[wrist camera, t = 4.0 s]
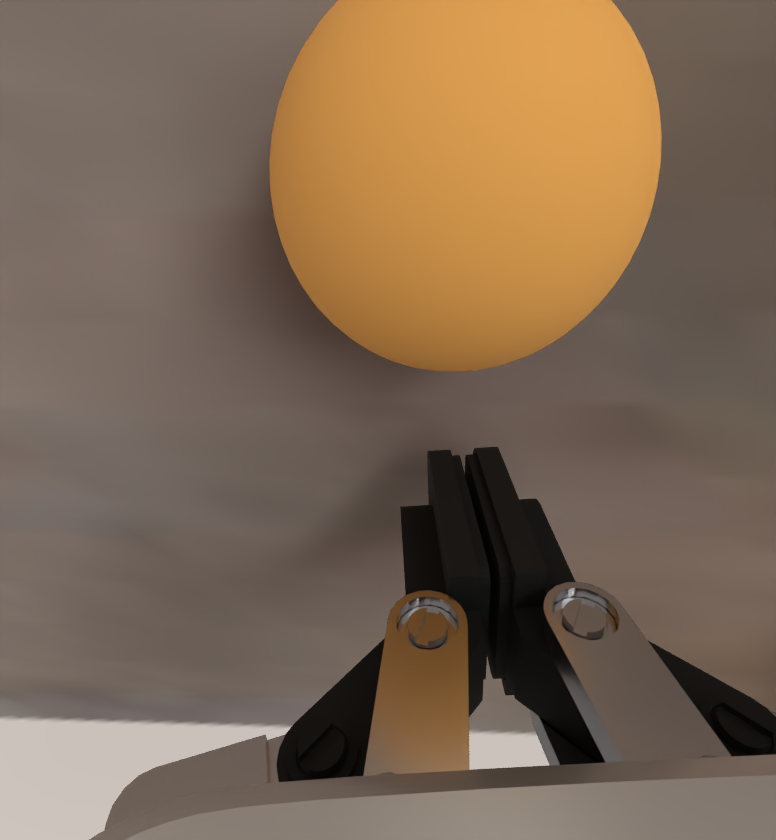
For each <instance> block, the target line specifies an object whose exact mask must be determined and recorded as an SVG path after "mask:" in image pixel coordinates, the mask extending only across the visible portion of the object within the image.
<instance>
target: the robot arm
mask: <svg viewBox="0 0 776 840" xmlns="http://www.w3.org/2000/svg"><path fill="white" fill-rule="evenodd" d="M427 459H428V494H429V505H422V506H406V507H401V524H402V540H403V556H404V572H405V589H406V596H404V597H403V598H401V599H400V600H399V601H398V602H397V603H396V604H395V605H394V607H393V608H392V609H391V612H390V615H389V617H388V622H387V628H386V635H385V639H384V640H382V641H381V642H380V643H379V644H378V645H377V646H376V647H375V648H374V649H373V650H372V651H371V652H370V653H369V654H368V655H367V656H365V657H364V658H363V659H362V660H361V661H360V662H359V663H358V664H357V665H356V666H355V667H354V668H353V669H352V670H351V671H350V672H348V673H347V674H346V675H345V676H344V677H343V678H342V679H341V680H340V681H339V682H338V683H337V684H336V685H335V686H334V687H333V688H332V689H330V690H329V691H328V692H327V693H326V694H325V695H324V696H323V697H322V698H321V699H320V700H319V701H318V702H317V703H316V704H315V705H313V706H312V707H311V708H310V709H309V710H308V711H307V712H306V713H305V714H304V715H303V716H302V717H301V718H300V719H299V720H298V721H296V722H295V724H294V725H293V726H292V727H291V728H290V730H289V731H288V732H287V734H286V735H283V736H280V737H276V738H273V739H270V740H267V738H266V735H263V736H259V737H256V738H252V739H249V740H246V741H243V742H239V743H236V744H232V745H230V746H226V747H222V748H219V749H216V750H212V751H209V752H206V753H203V754H199V755H196V756H192V757H189V758H186V759H182V760H179V761H176V762H172V763H169V764H166V765H162V766H159V767H156V768H153V769H151V770H149V771H147V772H145V773H143V774H141V775H139V776H138V777H137V778H136V779H134V780H133V781H132V782H131V783H130V784H129V785H128V786H127V787H125V789H124V790H123V791H122V793H121V794H120V796H119V797H118V798H117V800H116V801H115V803H114V804H113V806H112V809H111V811H110V814H109V817H108V820H107V822H106V826H105V830H104V831H103V832H101V833H99V834H97V835H96V836H94V837H93V838H91V839H90V840H776V713H775V712H770V711H769V710H768V709H767V708H766V707H764V706H763V705H761V704H760V703H758V702H757V701H755V700H754V699H752V698H751V697H749V696H747V695H745V694H743V693H742V692H740V691H738V690H736V689H734V688H733V687H731V686H729V685H727V684H725V683H723V682H722V681H720V680H718V679H716V678H714V677H713V676H711V675H709V674H707V673H705V672H704V671H702V670H700V669H698V668H696V667H695V666H693V665H691V664H689V663H687V662H685V661H684V660H682V659H680V658H678V657H676V656H675V655H673V654H671V653H669V652H667V651H666V650H664V649H662V648H660V647H658V646H657V645H655V644H653V643H651V642H649V641H648V640H647V639H646V638H645V636H644V635H643V633H642V632H641V631H640V629H639V628H638V627H637V625H636V624H635V622H634V621H633V620H632V618H631V617H630V616H629V614H628V613H627V611H626V610H625V609H624V607H623V606H622V605H621V604H620V603H619V602H618V600H617V599H616V598H615V597H614V596H612V595H611V594H609V593H608V592H606V591H605V590H603V589H601V588H599V587H596V586H594V585H591V584H587V583H581V582H575V580H574V578H573V576H572V573H571V571H570V569H569V567H568V565H567V562H566V560H565V558H564V556H563V553H562V551H561V549H560V547H559V545H558V542H557V540H556V538H555V536H554V534H553V531H552V529H551V527H550V525H549V523H548V520H547V518H546V516H545V514H544V512H543V509H542V507H541V505H540V503H539V502H538V500H537V499H522V500H519V499H518V496H517V493H516V491H515V488H514V486H513V483H512V481H511V478H510V476H509V473H508V471H507V468H506V466H505V463H504V461H503V458H502V456H501V453H500V451H499V449H498V447H487V448H474V451H473V454H470V455H466V457H465V474H464V470H463V466H462V462H461V458H460V456H459V455H454V456H452V454H451V451H450V450H439V451H428V454H427ZM487 656H488V661H489V666H490V670H491V674H492V677H493V679H498V678H502V683H503V687H504V691H505V695H514V696H515V699H517V700H518V701H519V702H521V703H522V704H523V705H525V706H526V707H527V708H529V709H530V716H531V720H532V724H533V726H534V729H535V731H536V733H537V736H538V738H539V740H540V743H541V745H542V748H543V750H544V752H545V755H546V757H547V760H548V762H549V764H550V766H533V767H515V768H496V769H477V770H469V716H470V715H471V714H472V713H473V711H474V710H475V709H476V708H477V706H478V705H479V704H480V702H481V701H482V696H483V679H485V678H486V662H487Z"/></svg>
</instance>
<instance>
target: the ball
mask: <svg viewBox="0 0 776 840" xmlns="http://www.w3.org/2000/svg"><path fill="white" fill-rule="evenodd" d="M661 139H662V133H661V121H660V109H659V103H658V98H657V94H656V89H655V84H654V79H653V77H652V74H651V71H650V68H649V65H648V62H647V59H646V56H645V53H644V51H643V49H642V47H641V45H640V43H639V42H638V40H637V38H636V36H635V34H634V32H633V30H632V28H631V26H630V25H629V24H628V22H627V21H626V19H625V18H624V16H623V15H622V14H621V12H620V11H619V9H618V8H617V6H616V5H615V4H614V3H613V2H612V1H611V0H338V1H337V2H336V3H335V4H334V5H333V6H332V8H331V9H330V10H329V11H328V12H327V13H326V14H325V15H324V16H323V18H322V19H321V20H320V22H319V23H318V25H317V26H316V28H315V29H314V31H313V32H312V34H311V35H310V37H309V38H308V40H307V41H306V42H305V44H304V45H303V47H302V49H301V51H300V53H299V55H298V57H297V59H296V61H295V63H294V65H293V67H292V69H291V71H290V73H289V75H288V78H287V80H286V83H285V86H284V89H283V92H282V95H281V97H280V100H279V103H278V108H277V112H276V117H275V121H274V126H273V131H272V139H271V150H270V161H269V164H270V192H271V199H272V205H273V212H274V218H275V222H276V225H277V229H278V233H279V236H280V240H281V243H282V246H283V248H284V251H285V253H286V256H287V258H288V260H289V263H290V265H291V267H292V269H293V271H294V273H295V275H296V276H297V278H298V280H299V282H300V284H301V285H302V287H303V289H304V290H305V291H306V293H307V294H308V295H309V297H310V298H311V300H312V301H313V302H314V304H315V305H316V306H317V308H318V309H319V310H320V311H321V312H322V313H323V314H324V315H325V316H326V317H327V318H328V319H329V320H330V321H331V322H332V323H333V324H334V325H335V326H336V327H337V328H339V329H340V330H341V331H342V332H343V333H345V334H346V335H347V336H348V337H350V338H351V339H352V340H353V341H355V342H357V343H358V344H360V345H361V346H363V347H365V348H366V349H368V350H369V351H371V352H373V353H375V354H377V355H380V356H382V357H384V358H386V359H388V360H391V361H393V362H396V363H400V364H403V365H406V366H410V367H413V368H419V369H425V370H431V371H448V372H461V371H472V370H482V369H487V368H491V367H496V366H501V365H504V364H507V363H510V362H513V361H516V360H519V359H522V358H524V357H526V356H528V355H530V354H532V353H534V352H536V351H539V350H541V349H543V348H544V347H546V346H548V345H549V344H551V343H552V342H554V341H555V340H557V339H559V338H560V337H562V336H563V335H564V334H566V333H567V332H568V331H569V330H571V329H572V328H573V327H574V326H576V325H577V324H578V323H579V322H581V321H582V320H583V319H584V318H585V317H586V316H587V315H588V314H589V313H590V312H591V311H592V310H593V309H594V308H595V307H596V306H597V305H598V304H599V303H600V302H601V301H602V300H603V299H604V297H605V296H606V295H607V294H608V292H609V291H610V290H611V289H612V288H613V286H614V285H615V284H616V282H617V281H618V279H619V278H620V276H621V275H622V273H623V272H624V270H625V268H626V267H627V265H628V264H629V262H630V260H631V258H632V256H633V254H634V252H635V250H636V248H637V246H638V244H639V242H640V240H641V238H642V235H643V233H644V230H645V227H646V225H647V222H648V219H649V217H650V214H651V210H652V206H653V202H654V198H655V194H656V191H657V185H658V178H659V171H660V164H661Z"/></svg>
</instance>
